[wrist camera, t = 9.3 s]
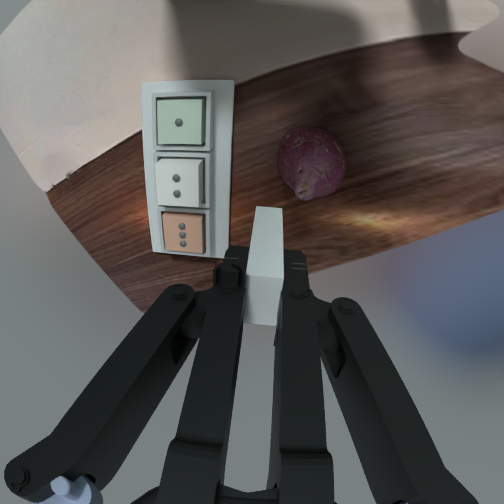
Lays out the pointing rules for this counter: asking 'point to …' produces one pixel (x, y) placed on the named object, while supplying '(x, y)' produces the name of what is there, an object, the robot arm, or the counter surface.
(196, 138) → the key one
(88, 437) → the robot arm
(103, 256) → the counter surface
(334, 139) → the vegetable
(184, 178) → the key two
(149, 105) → the console
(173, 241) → the key three
